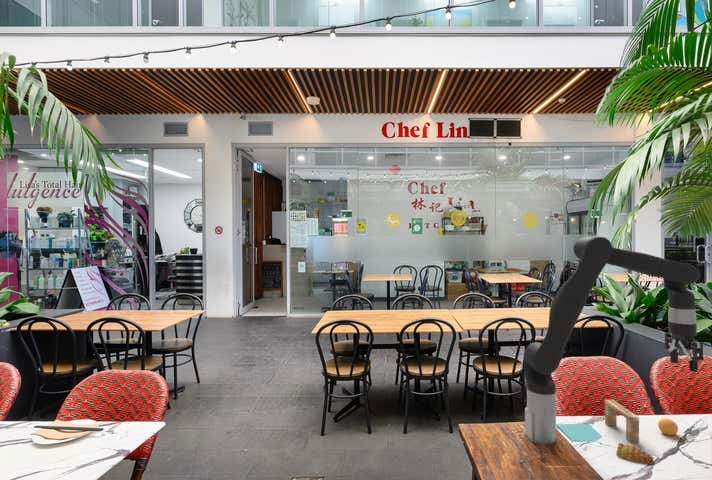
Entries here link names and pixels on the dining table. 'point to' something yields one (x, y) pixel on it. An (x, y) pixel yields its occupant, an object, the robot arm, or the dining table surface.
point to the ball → (668, 426)
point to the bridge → (631, 418)
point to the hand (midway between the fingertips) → (683, 367)
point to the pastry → (633, 454)
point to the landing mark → (579, 432)
